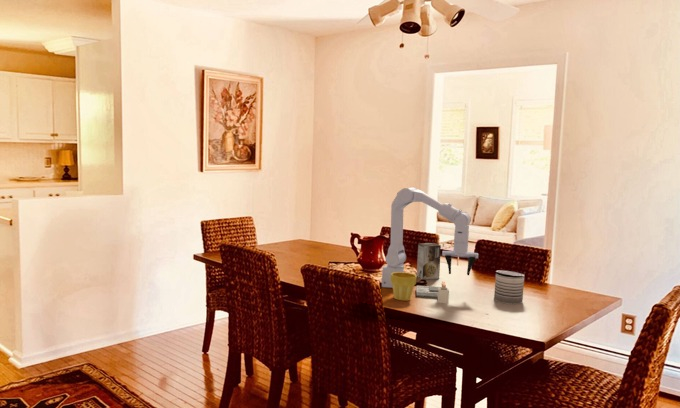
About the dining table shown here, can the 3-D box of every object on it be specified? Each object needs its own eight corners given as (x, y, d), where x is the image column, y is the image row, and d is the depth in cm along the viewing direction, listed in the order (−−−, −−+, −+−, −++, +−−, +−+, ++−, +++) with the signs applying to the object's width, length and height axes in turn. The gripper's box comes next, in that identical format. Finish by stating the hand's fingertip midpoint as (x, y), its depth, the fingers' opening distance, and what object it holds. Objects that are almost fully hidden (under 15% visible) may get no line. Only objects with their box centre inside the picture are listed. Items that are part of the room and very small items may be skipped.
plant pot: (417, 296, 230) (418, 273, 229) (412, 303, 220) (413, 278, 219) (393, 293, 234) (394, 270, 233) (386, 299, 224) (388, 275, 223)
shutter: (429, 291, 232) (430, 284, 231) (429, 287, 238) (429, 280, 238) (445, 292, 231) (445, 285, 231) (444, 288, 237) (444, 281, 237)
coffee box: (433, 275, 270) (435, 242, 268) (439, 279, 264) (441, 245, 262) (415, 276, 267) (417, 243, 265) (422, 279, 261) (424, 245, 259)
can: (488, 297, 234) (490, 269, 232) (509, 295, 238) (511, 268, 237) (506, 305, 223) (508, 275, 222) (528, 303, 228) (530, 274, 226)
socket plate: (416, 296, 230) (416, 291, 230) (416, 290, 241) (416, 285, 241) (447, 298, 229) (447, 294, 229) (445, 292, 240) (446, 287, 239)
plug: (438, 302, 223) (438, 289, 222) (437, 300, 227) (438, 286, 226) (448, 303, 222) (449, 289, 222) (447, 300, 226) (448, 287, 226)
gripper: (443, 242, 228) (441, 275, 230) (480, 244, 226) (477, 277, 228) (442, 239, 235) (440, 271, 237) (478, 241, 233) (475, 273, 235)
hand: (458, 274), depth 233 cm, fingers open, 7 cm apart
